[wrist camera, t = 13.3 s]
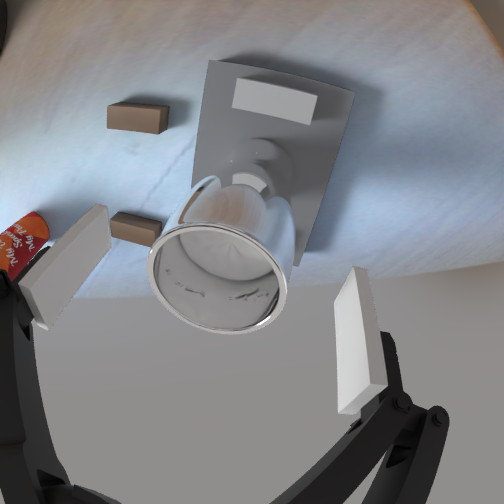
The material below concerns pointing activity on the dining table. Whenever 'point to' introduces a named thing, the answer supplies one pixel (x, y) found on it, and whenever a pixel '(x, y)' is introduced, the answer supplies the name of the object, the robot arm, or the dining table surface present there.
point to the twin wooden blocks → (147, 122)
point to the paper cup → (22, 243)
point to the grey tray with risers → (274, 129)
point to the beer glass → (230, 244)
